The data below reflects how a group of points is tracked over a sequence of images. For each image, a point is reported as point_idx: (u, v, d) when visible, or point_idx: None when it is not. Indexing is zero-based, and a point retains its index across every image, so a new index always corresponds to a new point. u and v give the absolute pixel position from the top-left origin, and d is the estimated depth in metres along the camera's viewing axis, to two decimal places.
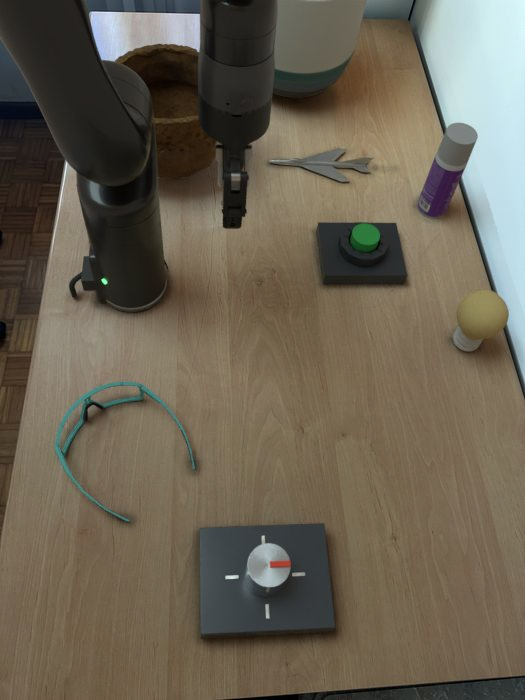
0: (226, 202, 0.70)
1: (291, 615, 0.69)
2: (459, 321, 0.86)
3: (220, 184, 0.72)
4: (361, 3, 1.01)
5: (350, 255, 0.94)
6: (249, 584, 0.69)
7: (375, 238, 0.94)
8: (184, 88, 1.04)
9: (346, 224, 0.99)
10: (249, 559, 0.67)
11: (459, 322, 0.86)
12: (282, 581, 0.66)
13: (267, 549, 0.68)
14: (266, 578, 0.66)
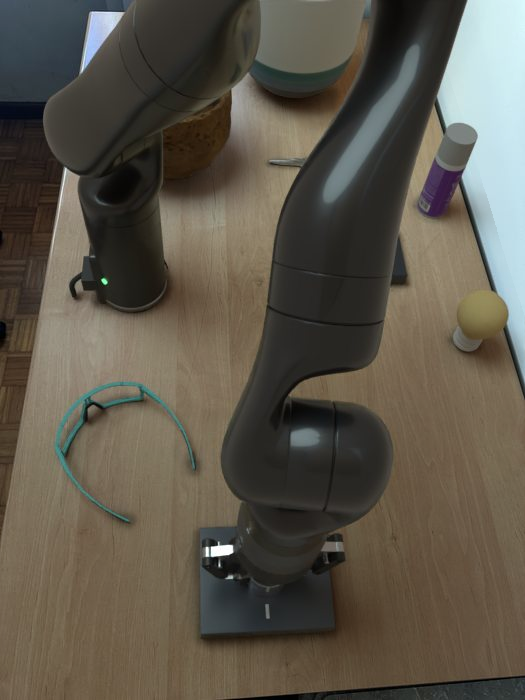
0: None
1: (291, 615, 0.69)
2: (459, 321, 0.86)
3: None
4: (361, 3, 1.01)
5: None
6: (249, 584, 0.69)
7: None
8: None
9: None
10: None
11: (459, 322, 0.86)
12: None
13: None
14: None
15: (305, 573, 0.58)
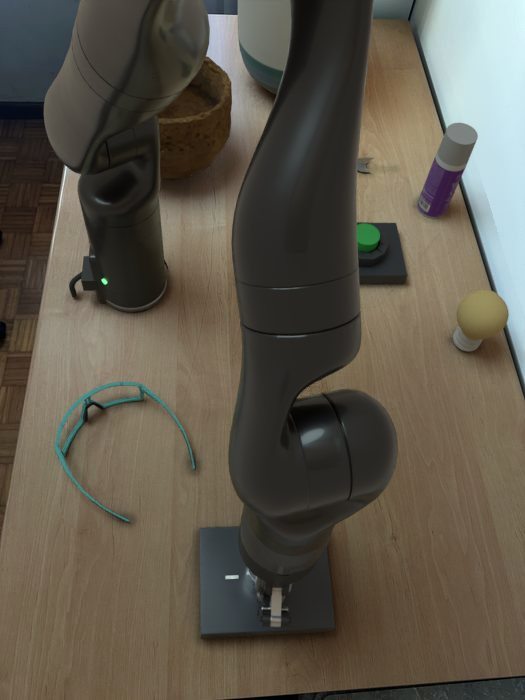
0: None
1: (291, 615, 0.69)
2: (459, 321, 0.86)
3: (257, 589, 0.63)
4: None
5: None
6: None
7: (375, 238, 0.94)
8: None
9: None
10: None
11: (459, 322, 0.86)
12: None
13: None
14: None
15: None
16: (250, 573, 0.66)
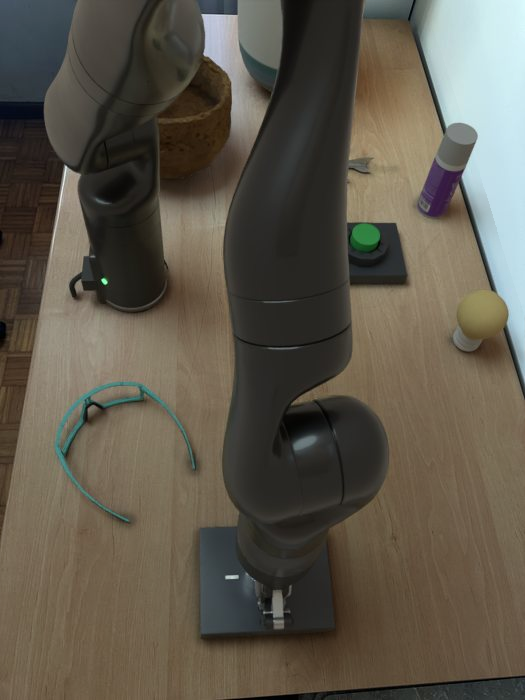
0: None
1: None
2: (459, 321, 0.86)
3: (258, 595, 0.63)
4: None
5: (350, 255, 0.94)
6: None
7: (375, 238, 0.94)
8: None
9: None
10: None
11: (459, 322, 0.86)
12: None
13: None
14: None
15: None
16: None
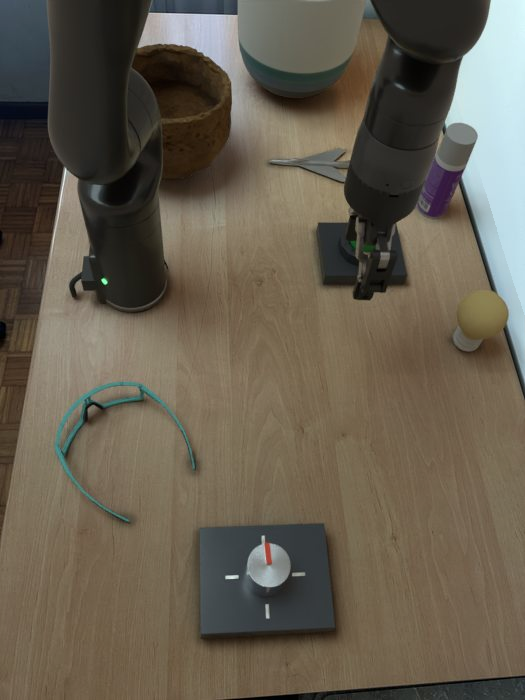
0: (369, 279, 0.67)
1: (291, 615, 0.69)
2: (459, 321, 0.86)
3: (359, 258, 0.69)
4: (361, 3, 1.01)
5: (350, 255, 0.94)
6: (279, 589, 0.69)
7: None
8: (184, 88, 1.04)
9: (346, 224, 0.99)
10: (265, 585, 0.66)
11: (459, 322, 0.86)
12: (283, 550, 0.68)
13: (253, 567, 0.67)
14: (282, 567, 0.67)
15: None
16: (251, 575, 0.66)
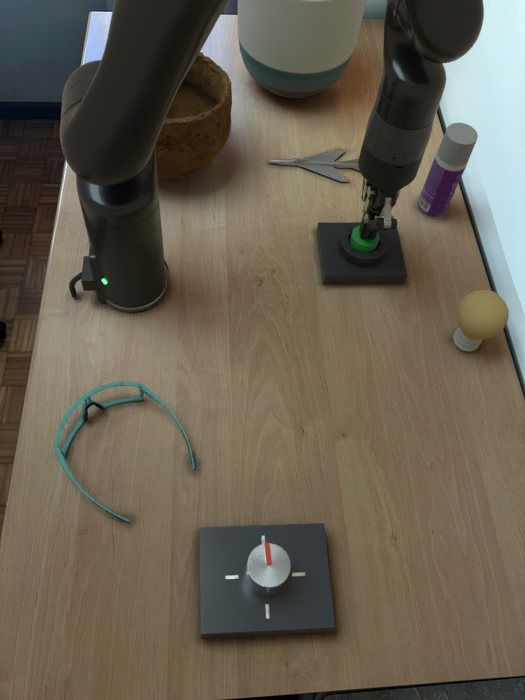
0: (373, 229, 0.87)
1: (291, 615, 0.69)
2: (459, 321, 0.86)
3: (367, 212, 0.88)
4: (361, 3, 1.01)
5: (350, 255, 0.94)
6: (279, 589, 0.69)
7: (374, 239, 0.94)
8: (184, 88, 1.04)
9: (346, 224, 0.99)
10: (265, 585, 0.66)
11: (459, 322, 0.86)
12: (283, 550, 0.68)
13: (253, 567, 0.67)
14: (282, 567, 0.67)
15: None
16: (251, 575, 0.66)
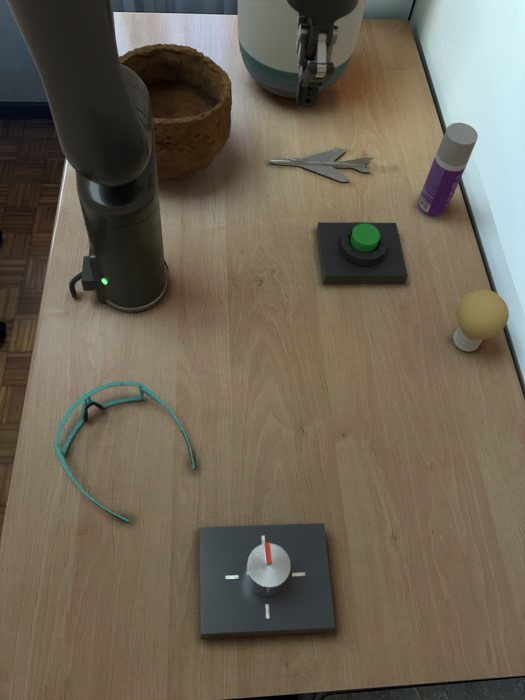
0: (307, 82, 0.71)
1: (291, 615, 0.69)
2: (459, 321, 0.86)
3: (300, 63, 0.72)
4: (361, 3, 1.01)
5: (350, 255, 0.94)
6: (279, 589, 0.69)
7: (375, 238, 0.94)
8: (184, 88, 1.04)
9: (346, 224, 0.99)
10: (265, 585, 0.66)
11: (459, 322, 0.86)
12: (283, 550, 0.68)
13: (253, 567, 0.67)
14: (282, 567, 0.67)
15: None
16: (251, 575, 0.66)
